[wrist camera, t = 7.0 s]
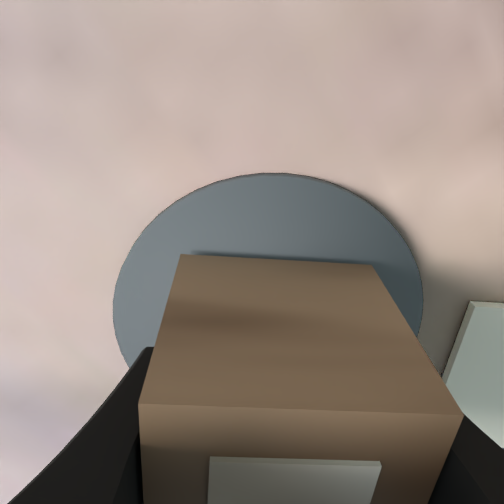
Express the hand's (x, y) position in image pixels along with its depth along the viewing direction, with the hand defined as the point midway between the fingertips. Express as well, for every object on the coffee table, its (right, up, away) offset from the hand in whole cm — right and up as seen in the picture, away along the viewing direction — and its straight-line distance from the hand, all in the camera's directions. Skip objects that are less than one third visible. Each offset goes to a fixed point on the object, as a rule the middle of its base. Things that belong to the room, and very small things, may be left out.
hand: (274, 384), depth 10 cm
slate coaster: (0, +1, +2) cm, 3 cm away
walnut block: (0, +1, +2) cm, 2 cm away
